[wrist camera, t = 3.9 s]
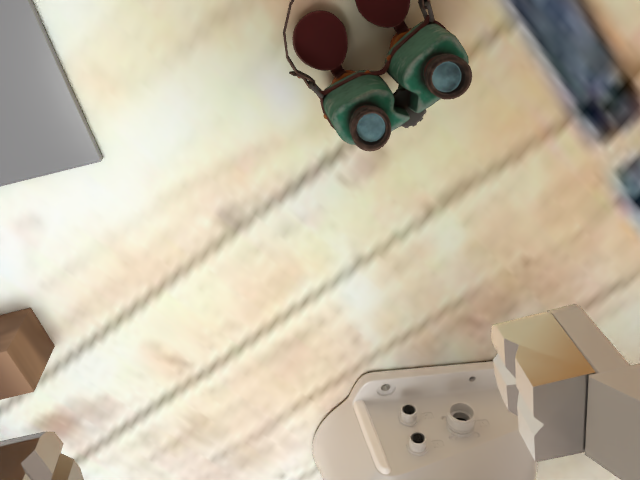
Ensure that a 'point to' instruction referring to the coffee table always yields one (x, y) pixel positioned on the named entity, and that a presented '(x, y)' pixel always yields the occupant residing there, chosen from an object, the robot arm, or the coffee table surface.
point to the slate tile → (36, 102)
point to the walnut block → (22, 352)
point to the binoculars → (381, 71)
